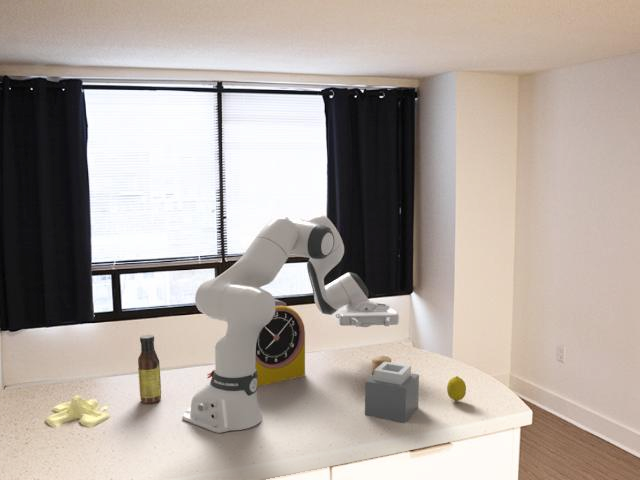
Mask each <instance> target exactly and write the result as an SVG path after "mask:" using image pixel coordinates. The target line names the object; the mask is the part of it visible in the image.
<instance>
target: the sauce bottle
mask: <svg viewBox="0 0 640 480" xmlns="http://www.w3.org/2000/svg"><path fill="white" fill-rule="evenodd" d="M154 341H155V335H153V334H144V335H141V336H140V337H139V342H140V346H141V348H140V351H141V352H140V354H139V356H138V358H137V361H138V362H137V364H138V365H137V366H138V368H137V370H138V385H139V386H138V387H139V396H140V401H141V402H142V403H143V404H155V403H157V402H159V401H161V399H162V381H161V367H160V359H159V357H158V355H157V352H156V349H155V342H154Z"/></svg>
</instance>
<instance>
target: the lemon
mask: <svg viewBox="0 0 640 480" xmlns="http://www.w3.org/2000/svg"><path fill="white" fill-rule="evenodd" d="M446 386H447V387H446V392H447V395H448V397H449V399H451V400H453V402H456V403H458V401H460V400H463V399H464V398H465V396H466V393H467V388H466V387H467V386H466V382H465V381H464V379H462V378H461V377H459V376H456V375H455V376H454V377H451V378H450V379H449V380H448V382H447V385H446Z"/></svg>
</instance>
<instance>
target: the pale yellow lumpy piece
mask: <svg viewBox="0 0 640 480" xmlns="http://www.w3.org/2000/svg"><path fill="white" fill-rule="evenodd" d="M99 408H100V405H99V401H97V399H93V398H92V399H91V398H90V399H89V400H87V401H86V399H84V398H82V397H81V396H80V395H78V394H77V395H75V396H73V398H72V399H71V401H67V402H62V403H60V404H57V405H55V406H53V407H52V408H51V411H53V412H55V413H53V414H51V415H49V416H47V417H46V418H45V420H44V422H45V423H46V424H48V425H49V426H50V427H52V428H58V427H60V426H61V425H62V424H64V423H66V422H67V423H68V422H70V421H72V420H76V419H79V420H78V421H79V423H80V425H82V426H85V427H86V428H88V429H89V428H90V429H91V428H94V427H96V426H98V425H99V424H101V423H103V422H104V421H106V420H108V419H110V418H111V417H112V414H108V413H105V412H107V411H108V406H107V405H104V406H103V407H101V409H100V410H99V411H98V409H99Z"/></svg>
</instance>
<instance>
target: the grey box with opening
mask: <svg viewBox="0 0 640 480" xmlns="http://www.w3.org/2000/svg"><path fill="white" fill-rule="evenodd" d="M364 386H365V387H364V390H365V391H364V415H365V416H369V417H374V418H378V419H381V420H389V421H393V422H399V423H403V424H406V423H407V422H408V420H409V419H410V418H411V417H412V415H413V414H414V413H415V412H416V410H418V408H419V396H420V395H419V393H420V392H419V388H420V374H418V373H417V374H416V373H412V365H408V364H403V363H396V362H392V361H391V362H383V363H382V364H381V365H380V366H378V367H377V368H376V369H375V370H374V374H373V375H372V374H371V376H370V377H369V378H368V379H366V380H365V384H364Z"/></svg>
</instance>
